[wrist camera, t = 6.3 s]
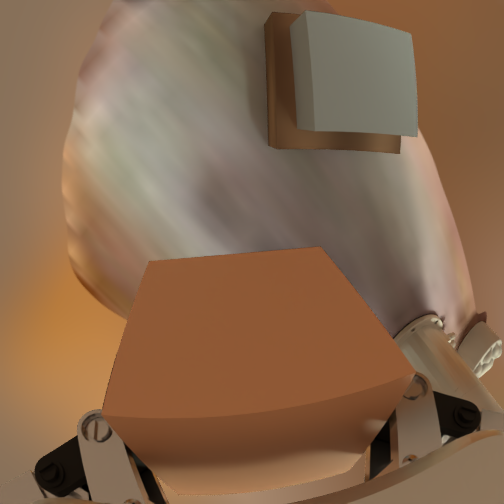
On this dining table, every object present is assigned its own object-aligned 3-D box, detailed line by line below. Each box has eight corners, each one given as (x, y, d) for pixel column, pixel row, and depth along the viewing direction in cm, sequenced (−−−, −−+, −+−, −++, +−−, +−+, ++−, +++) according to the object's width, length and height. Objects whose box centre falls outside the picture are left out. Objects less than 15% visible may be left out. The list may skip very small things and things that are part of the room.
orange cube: (320, 246, 10) (416, 372, 4) (306, 361, 12) (348, 471, 7) (149, 261, 9) (101, 414, 4) (180, 375, 12) (178, 494, 6)
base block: (375, 43, 20) (397, 36, 17) (377, 148, 26) (399, 153, 22) (263, 26, 19) (272, 12, 15) (267, 145, 24) (277, 149, 21)
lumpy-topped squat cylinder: (452, 366, 51) (469, 389, 43) (461, 335, 45) (483, 360, 37) (479, 345, 51) (496, 365, 43) (489, 312, 45) (511, 334, 37)
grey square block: (384, 41, 17) (411, 33, 14) (389, 132, 21) (417, 137, 18) (289, 26, 16) (305, 10, 13) (297, 129, 20) (314, 131, 17)
